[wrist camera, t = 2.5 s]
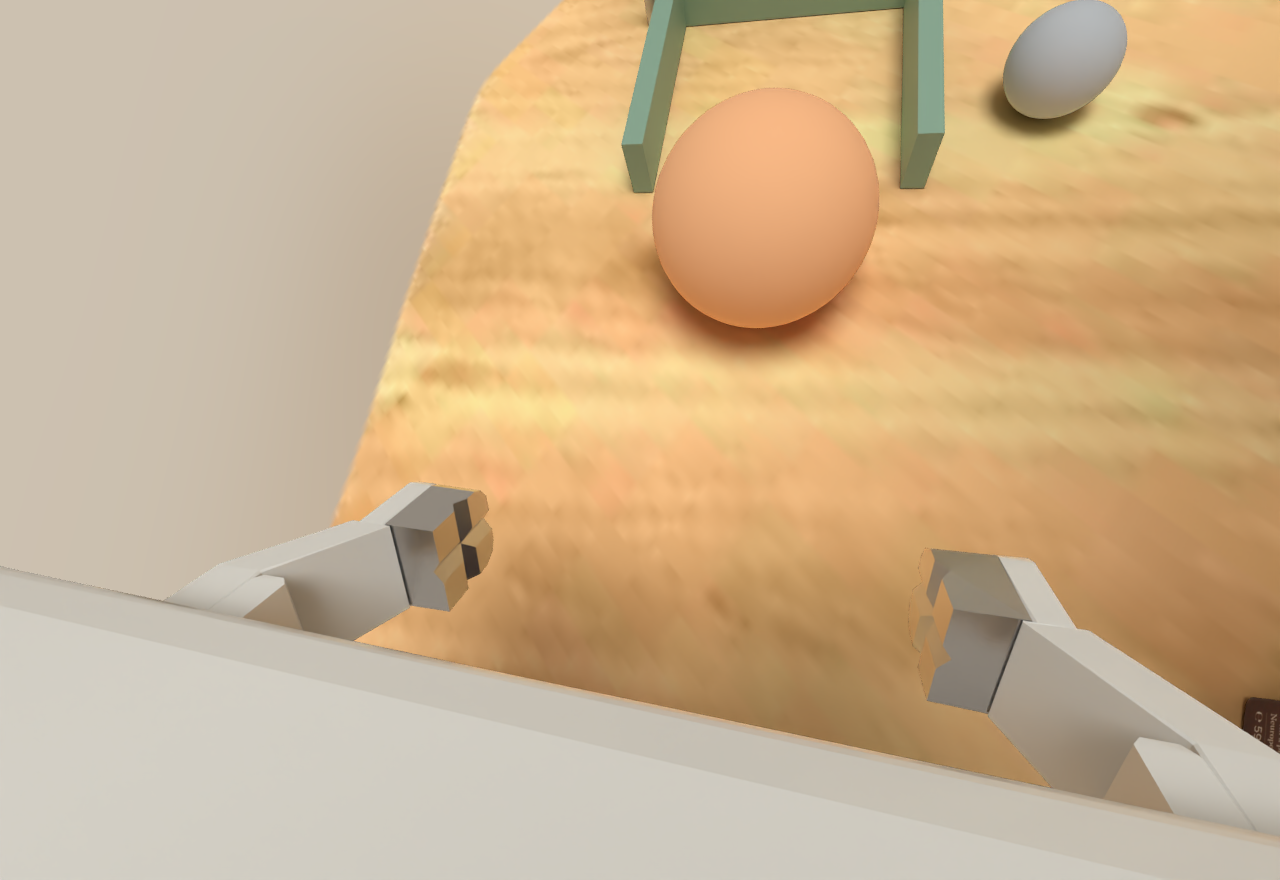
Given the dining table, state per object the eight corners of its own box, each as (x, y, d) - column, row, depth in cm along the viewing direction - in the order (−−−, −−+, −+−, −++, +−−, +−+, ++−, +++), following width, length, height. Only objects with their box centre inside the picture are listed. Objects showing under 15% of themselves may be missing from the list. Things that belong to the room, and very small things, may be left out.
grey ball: (1034, 60, 31) (1082, -40, 27) (1113, 103, 29) (1180, 2, 25) (967, 109, 31) (1004, 16, 26) (1042, 155, 29) (1096, 63, 24)
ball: (771, 181, 32) (778, -6, 23) (899, 286, 28) (971, 112, 19) (634, 280, 31) (584, 129, 22) (745, 401, 27) (742, 279, 18)
